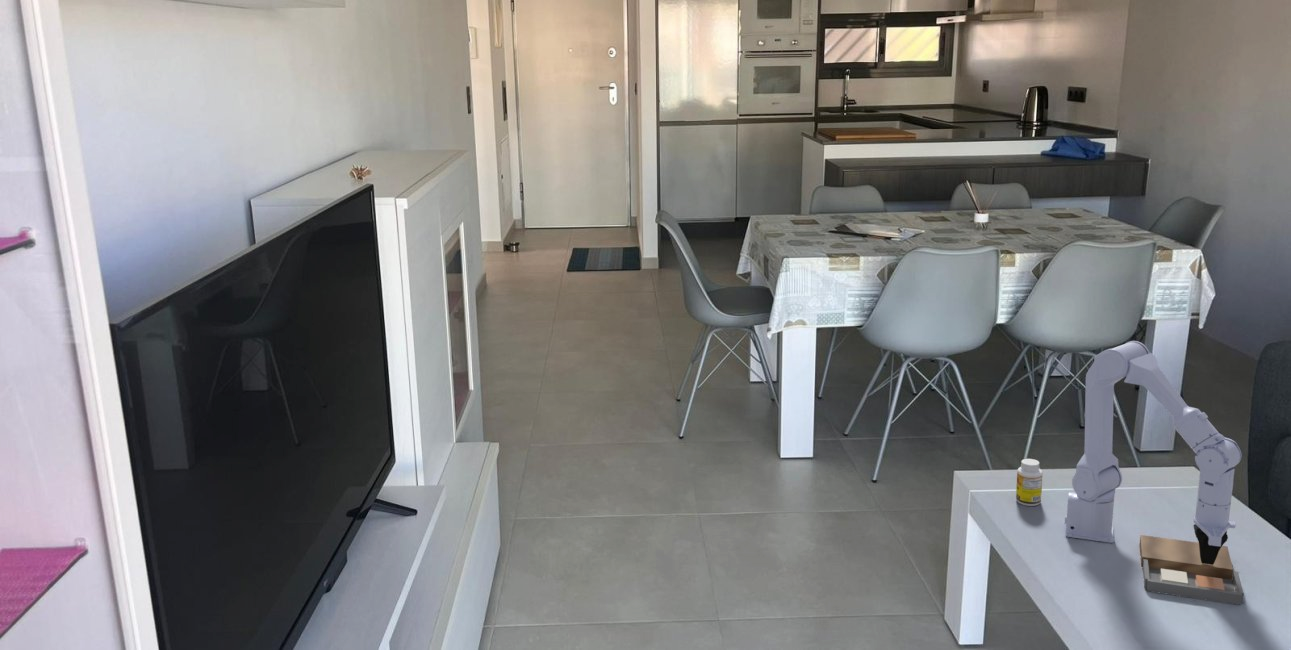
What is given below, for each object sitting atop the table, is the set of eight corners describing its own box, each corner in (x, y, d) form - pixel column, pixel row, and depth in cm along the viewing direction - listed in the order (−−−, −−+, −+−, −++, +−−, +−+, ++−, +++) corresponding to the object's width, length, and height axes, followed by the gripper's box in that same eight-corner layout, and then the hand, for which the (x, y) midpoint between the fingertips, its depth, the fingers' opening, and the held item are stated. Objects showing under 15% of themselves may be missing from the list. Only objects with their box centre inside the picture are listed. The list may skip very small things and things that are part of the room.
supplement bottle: (1018, 495, 233) (1020, 455, 230) (1042, 499, 230) (1045, 459, 227) (1013, 504, 228) (1015, 464, 225) (1038, 508, 225) (1040, 468, 222)
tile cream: (1160, 568, 193) (1159, 575, 194) (1161, 579, 189) (1161, 586, 190) (1186, 572, 191) (1185, 579, 192) (1188, 583, 187) (1187, 590, 188)
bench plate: (1141, 567, 198) (1142, 556, 197) (1139, 545, 206) (1140, 534, 206) (1232, 580, 191) (1233, 569, 190) (1226, 557, 200) (1227, 546, 199)
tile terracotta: (1195, 574, 190) (1195, 582, 191) (1197, 586, 186) (1197, 593, 187) (1222, 578, 188) (1221, 585, 189) (1224, 590, 184) (1224, 597, 185)
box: (1144, 590, 189) (1145, 580, 189) (1142, 568, 197) (1143, 558, 197) (1242, 605, 183) (1244, 595, 182) (1236, 582, 190) (1238, 572, 190)
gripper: (1242, 518, 181) (1234, 583, 185) (1233, 487, 194) (1226, 548, 197) (1199, 513, 184) (1192, 577, 187) (1192, 483, 197) (1186, 543, 200)
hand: (1207, 562), depth 193 cm, fingers closed
